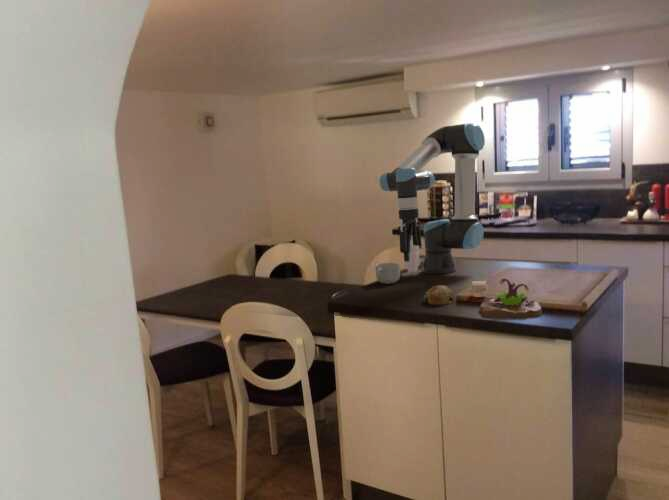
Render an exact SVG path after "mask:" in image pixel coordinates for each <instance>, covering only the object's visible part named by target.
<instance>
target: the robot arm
mask: <svg viewBox="0 0 669 500" xmlns="http://www.w3.org/2000/svg"><path fill="white" fill-rule="evenodd" d="M485 139H486V138H485V134H484V131H483V130H482V128H481V126H480V125H479V124H477V123H473V122H472V123H463V124H462V123H461V124H455V125H445V126H441V127H440V128H438V129H435V131H433V132H431V133H430V134H428V135H427V136H426V137H425V138H424V139H422V142H421V144H420V145H419V147H417V148H416V149H415V150H414V151H413V152H412V153H411V154H410V155H409V156H408V157H406V158H405V159H404V160H403V161H402V162H401V163H400V164H399V165H398V166H397V167H396V168H394V170H392V171H391V172H386V173H382V174H381V175H380V177H379V186H380V189H381V190H382V191H385V192H391V193H392V192H397V193H396V194H397V201H396V202H397V205H398V206H397V208H398V209H399V210H398V218H399V220H402V223H401V225H400V226H398V232H399V252H400V253H401V254H403V261H404V262H403V263H404V270H408V269H412V262H411V252H409V251H410V245H411V235H412V238H413V245H418V246H419V251H418V267H419V266H421V261H420V249H422V237H421V229H420V227H421V223H420V221H417V219H418V218H419V208H418V206H419V202H418V192H419V191H427V190H429V189H431V188H432V187H433V186H434V184H435V182H436V178H435V175H434V173H433V172H432V171H430V170H427V169H426V170H424V169H423V168H424V167H425V166H426V165H427V164H428V163H429V162H430V161H431V160H432V159H436V158H438V157H439V156H440V155H442V154H447V153H448V154H449V153H451V157H452V158H453V159H454V215H453V216H452V217H451V219H450V218H444V219H438V220H433V221H427V222H426V223H424V225H423V235H424V239H423V240H424V253H425V254H424V255H425V256H424V260H423V264H422V273H424V274H430V275H431V274H432V275H442V274H443V275H444V274H450V273H454V272H456V271H457V264H456V261H455V259H454V257H453V254H452V250H453V249H454V250H466V251H468V250H475V249H478V248H479V247H480V245H481V243H482V242H483V239H484V233H485V232H484V231H485V230H484V226H483V224H482V223H481V222H479V217H478V216H477V215H476V211H475V209H476V159H477V158H478V157H479V156H480V152H481V150H483V149H484V146H485ZM422 169H423V170H422Z"/></svg>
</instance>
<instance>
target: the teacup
mask: <svg viewBox="0 0 669 500" xmlns="http://www.w3.org/2000/svg"><path fill="white" fill-rule="evenodd" d="M374 267H375V278H376V280H377V281H378V282H380V283H381V284H385V285H388V284H389V285H390V284H391V283H392V284H395V283H397V281H399V280H400V279H401V278H400V277H401V264H400V263H396V262H379V263H376V264H375V265H374Z"/></svg>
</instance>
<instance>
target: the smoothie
mask: <svg viewBox="0 0 669 500" xmlns="http://www.w3.org/2000/svg"><path fill="white" fill-rule="evenodd" d="M418 251H419V252H420V249H419V246H418V245H413V238H412V235H411V238H410V251H409V252H411V262H412V269H407V272H408V273H415V272H418V270H419V269H418V268H419V266H418Z"/></svg>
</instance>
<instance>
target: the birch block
mask: <svg viewBox="0 0 669 500" xmlns="http://www.w3.org/2000/svg"><path fill="white" fill-rule="evenodd" d="M470 287H471V292H472V291H486V289H487V290H488V285H487V281H483V280H482V281H479V280H478V281H477V280H476V281H472V283H471V286H470Z"/></svg>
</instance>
